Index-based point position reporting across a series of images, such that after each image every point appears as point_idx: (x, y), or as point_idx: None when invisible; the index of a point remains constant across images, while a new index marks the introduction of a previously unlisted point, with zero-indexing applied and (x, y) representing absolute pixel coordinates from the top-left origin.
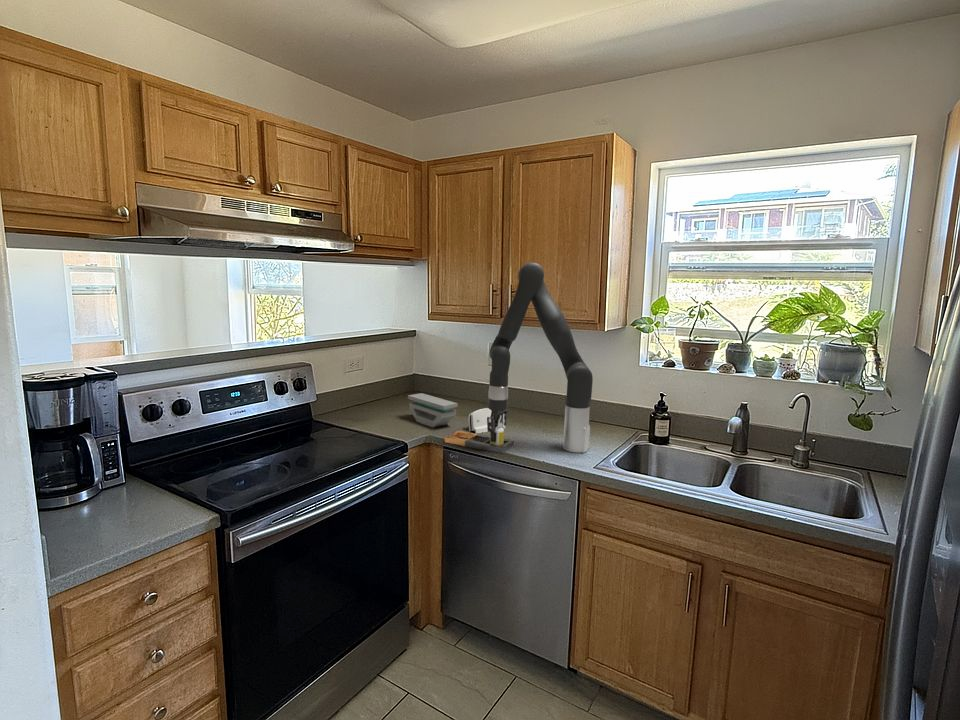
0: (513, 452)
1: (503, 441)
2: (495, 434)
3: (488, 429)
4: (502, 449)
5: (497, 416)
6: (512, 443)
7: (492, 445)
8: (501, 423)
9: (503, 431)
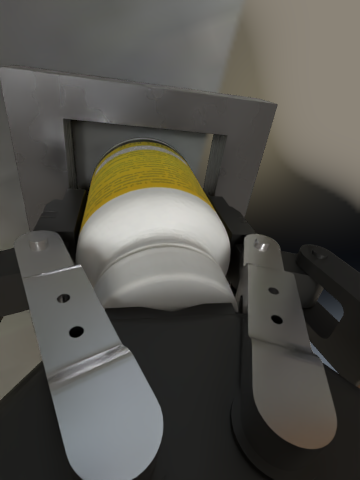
0: (207, 4)
1: (136, 151)
2: (244, 229)
3: (319, 305)
4: (271, 102)
5: (348, 436)
6: (53, 72)
7: (234, 198)
8: (186, 277)
9: (156, 189)
